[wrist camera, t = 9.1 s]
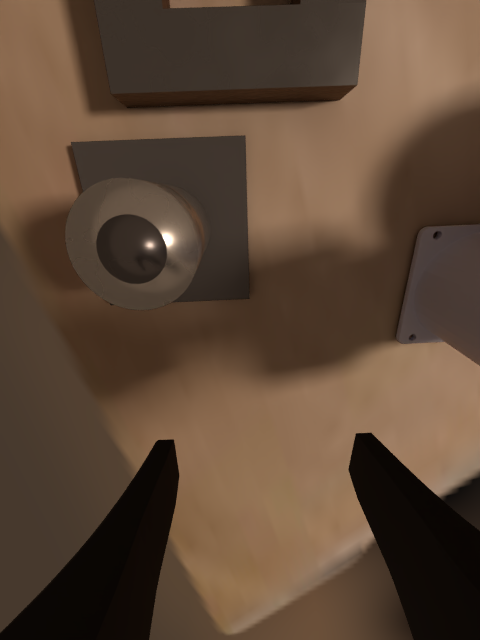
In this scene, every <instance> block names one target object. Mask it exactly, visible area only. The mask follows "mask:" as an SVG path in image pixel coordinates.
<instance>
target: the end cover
mask: <svg viewBox="0 0 480 640" xmlns="http://www.w3.org/2000/svg"><path fill="white" fill-rule="evenodd" d="M209 239H210V222H209V217H208V215H207V212H206V210H205V208H204V206H203V205H202V203H201V202H200V201H199V200H198V199H197V197H195V196H194V195H193V194H192V193H190V192H189V191H187V190H185V189H183V188H181V187H178V186H174V185H169V184H162V183H156V182H150V181H144V180H138V179H132V178H112V179H108V180H103V181H101V182H98V183H96V184H94V185H92V186H91V187H89V188H87V189H86V190H85V191H84V192H83V193H82V194H81V195H80V196H79V197H78V198H77V199H76V201H75V202H74V204H73V206H72V207H71V209H70V212H69V214H68V217H67V221H66V228H65V242H66V247H67V252H68V255H69V258H70V261H71V263H72V265H73V267H74V269H75V271H76V272H77V274H78V276H79V277H80V278H81V280H82V281H83V282H84V283H85V284H86V285H87V286H88V288H89V289H91V290H92V291H93V292H94V293H95V294H96V295H98V296H99V297H101V298H102V299H104V300H106V301H108V302H109V303H111V304H114V305H116V306H119V307H122V308H126V309H132V310H151V309H156V308H160V307H162V306H165V305H167V304H169V303H171V302H173V301H174V300H176V299H177V298H178V297H179V296H180V295H182V294H183V293H184V291H185V290H186V289H187V288H188V286H189V285H190V283H191V281H192V279H193V277H194V275H195V272H196V270H197V268H198V266H199V263H200V261H201V259H202V256H203V254H204V252H205V250H206V247H207V245H208V242H209Z"/></svg>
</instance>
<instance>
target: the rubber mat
mask: <svg viewBox="0 0 480 640" xmlns="http://www.w3.org/2000/svg"><path fill="white" fill-rule="evenodd" d="M71 145H72V149H73V153H74V157H75V161H76V165H77V169H78V173H79V177H80V182H81V186H82V190H83V192H84V191H85V190H86V189H87V188H89V187H91V186H92V185H94V184H96V183H98V182H101V181H103V180H108V179H112V178H132V179H138V180H144V181H150V182H156V183H162V184H169V185H174V186H178V187H181V188H183V189H185V190H187V191H189V192H190V193H192V194H193V195H194V196H195V197H197V199H198V200H199V201H200V202H201V203H202V205H203V206H204V208H205V210H206V212H207V215H208V217H209V222H210V239H209V242H208V245H207V247H206V250H205V252H204V254H203V256H202V259H201V261H200V263H199V266H198V268H197V270H196V272H195V275H194V277H193V279H192V281H191V283H190V285H189V286H188V288H187V289H186V290H185V291H184V293H183V294H182V295H180V296H179V297H178V298H177V299H176V300H174V301H173V302H189V301H210V300H231V299H249V261H248V221H247V182H246V143H245V136H219V137H193V138H167V139H141V140H115V141H89V142H71ZM110 305H114V304H111V303H110Z"/></svg>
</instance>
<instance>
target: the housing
mask: <svg viewBox="0 0 480 640" xmlns="http://www.w3.org/2000/svg"><path fill="white" fill-rule="evenodd" d="M94 4H95V9H96V15H97V20H98V26H99V31H100V37H101V42H102V48H103V53H104V59H105V64H106V70H107V75H108V81H109V86H110V92H111V94H112V95H113V96H114V97H115V98H116V99H118V100H119V101H120V102H121V103H122V104H124V105H125V106H126V107H127V108H135V107H162V106H189V105H217V104H244V103H271V102H298V101H325V100H340V99H342V98H343V97H344V96H345V95H346V94H347V93H349V92H350V91H351V90H352V89H353V88H354V87H356V86H357V83H358V74H359V64H360V55H361V45H362V36H363V26H364V17H365V8H366V0H291V5H265V6H233V7H202V8H170V3H169V0H94Z"/></svg>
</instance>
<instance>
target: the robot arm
mask: <svg viewBox="0 0 480 640" xmlns="http://www.w3.org/2000/svg"><path fill="white" fill-rule="evenodd" d="M436 231H437V236H436V237H435V238H433V234H434V233H435V232H436ZM412 334H413V336H412V337H411V338H409V337H410V336H411V335H412ZM396 339H397V341H399V342H400V343H402V344H410V343H430V342H446V343H447V344H449V345H450V346H452V347H453V348H455V349H456V350H458V351H459V352H461V353H462V354H463V355H465V356H466V357H468V358H469V359H471V360H472V361H474V362H475V363H477V364H478V365H479V366H480V224H471V225H448V226H427V227H424V228H422V229H421V230H420V231H419V233H418V236H417V240H416V245H415V250H414V254H413V259H412V264H411V268H410V273H409V278H408V283H407V287H406V292H405V297H404V301H403V306H402V311H401V315H400V320H399V325H398V329H397V334H396ZM349 473H350V476H351V479H352V483H353V486H354V489H355V492H356V495H357V498H358V500H359V502H360V505H361V507H362V509H363V512H364V514H365V516H366V519H367V521H368V523H369V525H370V528H371V530H372V532H373V534H374V537H375V539H376V541H377V544H378V546H379V548H380V550H381V553H382V555H383V557H384V559H385V562H386V564H387V566H388V568H389V571H390V574H391V576H392V579H393V581H394V584H395V587H396V590H397V592H398V595H399V598H400V601H401V604H402V606H403V609H404V612H405V615H406V618H407V621H408V624H409V627H410V630H411V633H412V636H413V639H414V640H480V531H479V530H478V529H477V528H475V527H474V526H472V525H471V524H470V523H469V522H467V521H466V520H465V519H464V518H462V517H461V516H460V515H459V514H458V513H456V512H455V511H454V510H453V509H452V508H451V507H450V506H448V505H447V504H446V503H445V502H444V501H443V500H441V499H440V498H439V497H438V496H437V495H436V494H434V493H433V492H432V491H431V490H430V489H429V488H428V487H427V486H426V485H425V484H424V483H422V482H421V481H420V480H419V479H418V478H417V477H416V476H415V475H414V474H413V473H412V472H411V471H410V470H409V469H408V468H406V467H405V466H404V465H403V464H402V463H401V462H400V461H399V460H398V459H397V458H396V457H395V456H394V455H393V454H392V453H391V452H390V451H389V450H388V449H387V448H386V447H385V446H384V445H383V444H382V443H381V442H380V441H379V440H378V439H377V438H376V437H375V436H374V435H373V434H372V433H356V436H355V440H354V445H353V450H352V455H351V460H350V465H349ZM178 482H179V470H178V464H177V457H176V450H175V444H174V440H158V441H157V442H156V443H155V445H154V446H153V448H152V450H151V451H150V453H149V455H148V456H147V458H146V460H145V461H144V463H143V465H142V466H141V468H140V469H139V471H138V472H137V474H136V475H135V477H134V478H133V480H132V481H131V483H130V484H129V486H128V487H127V489H126V490H125V492H124V493H123V495H122V496H121V497H120V499H119V500H118V502H117V503H116V504H115V505H114V507H113V508H112V509H111V511H110V512H109V514H108V515H107V516H106V518H105V519H104V520H103V521H102V523H101V524H100V525H99V527H98V528H97V529H96V530H95V532H94V533H93V534H92V535H91V537H90V538H89V539H88V540H87V541H86V543H85V544H84V545H83V546H82V547H81V548H80V550H79V551H78V552H77V553H76V554H75V556H74V557H73V558H72V559H71V560H70V561H69V562H68V563H67V564H66V566H65V567H64V568H63V569H62V570H61V571H60V572H59V573H58V574H57V576H56V577H55V578H54V579H53V580H52V581H51V582H50V583H49V584H48V585H47V586H46V587H45V588H44V590H43V591H42V592H41V593H40V594H39V595H38V596H37V597H36V598H35V599H34V600H33V601H32V602H31V603H30V604H29V605H28V606H27V607H26V608H25V609H24V610H23V611H22V612H21V613H20V614H19V615H18V616H17V617H16V618H15V619H14V620H13V621H12V622H11V623H10V624H9V625H8V626H7V627H6V628H5V629H4V630H3V631H2V632H1V633H0V640H149V635H150V629H151V623H152V616H153V609H154V603H155V596H156V590H157V585H158V580H159V575H160V570H161V566H162V562H163V558H164V553H165V549H166V545H167V540H168V536H169V531H170V527H171V523H172V518H173V514H174V509H175V505H176V498H177V490H178Z"/></svg>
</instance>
